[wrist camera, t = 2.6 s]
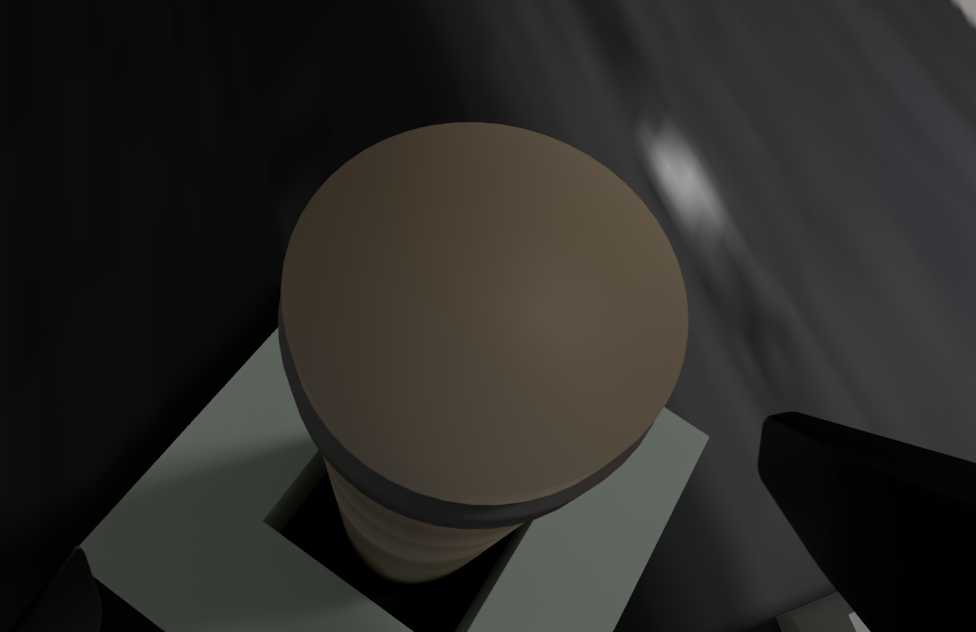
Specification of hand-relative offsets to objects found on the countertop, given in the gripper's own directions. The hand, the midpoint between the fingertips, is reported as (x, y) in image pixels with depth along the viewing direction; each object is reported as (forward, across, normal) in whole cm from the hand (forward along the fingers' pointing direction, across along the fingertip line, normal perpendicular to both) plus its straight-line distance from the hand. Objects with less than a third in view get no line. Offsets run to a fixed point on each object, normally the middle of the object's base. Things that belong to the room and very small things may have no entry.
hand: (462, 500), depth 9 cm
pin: (+7, 0, +5) cm, 9 cm away
